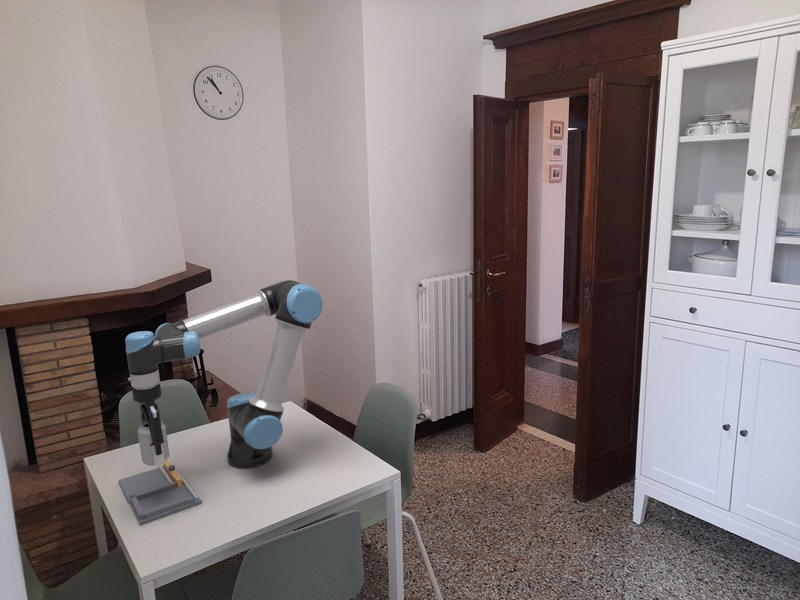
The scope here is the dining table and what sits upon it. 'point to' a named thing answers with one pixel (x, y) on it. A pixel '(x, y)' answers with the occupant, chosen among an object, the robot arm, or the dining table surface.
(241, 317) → the robot arm
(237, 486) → the dining table surface
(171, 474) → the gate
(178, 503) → the housing
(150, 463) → the can
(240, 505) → the dining table surface
